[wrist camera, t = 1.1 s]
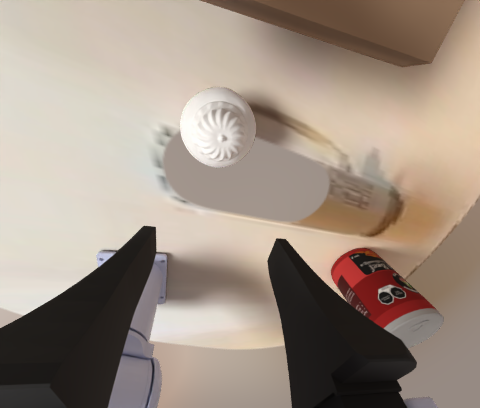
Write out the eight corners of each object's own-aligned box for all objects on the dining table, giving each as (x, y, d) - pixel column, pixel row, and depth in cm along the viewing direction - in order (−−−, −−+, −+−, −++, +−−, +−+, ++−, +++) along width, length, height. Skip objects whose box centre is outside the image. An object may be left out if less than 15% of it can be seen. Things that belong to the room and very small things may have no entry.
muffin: (241, 160, 21) (256, 186, 15) (182, 151, 20) (173, 177, 14) (253, 95, 19) (277, 96, 12) (186, 81, 17) (176, 74, 11)
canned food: (383, 253, 33) (457, 318, 23) (351, 285, 36) (405, 355, 26) (351, 240, 30) (420, 308, 21) (320, 276, 33) (366, 350, 24)
